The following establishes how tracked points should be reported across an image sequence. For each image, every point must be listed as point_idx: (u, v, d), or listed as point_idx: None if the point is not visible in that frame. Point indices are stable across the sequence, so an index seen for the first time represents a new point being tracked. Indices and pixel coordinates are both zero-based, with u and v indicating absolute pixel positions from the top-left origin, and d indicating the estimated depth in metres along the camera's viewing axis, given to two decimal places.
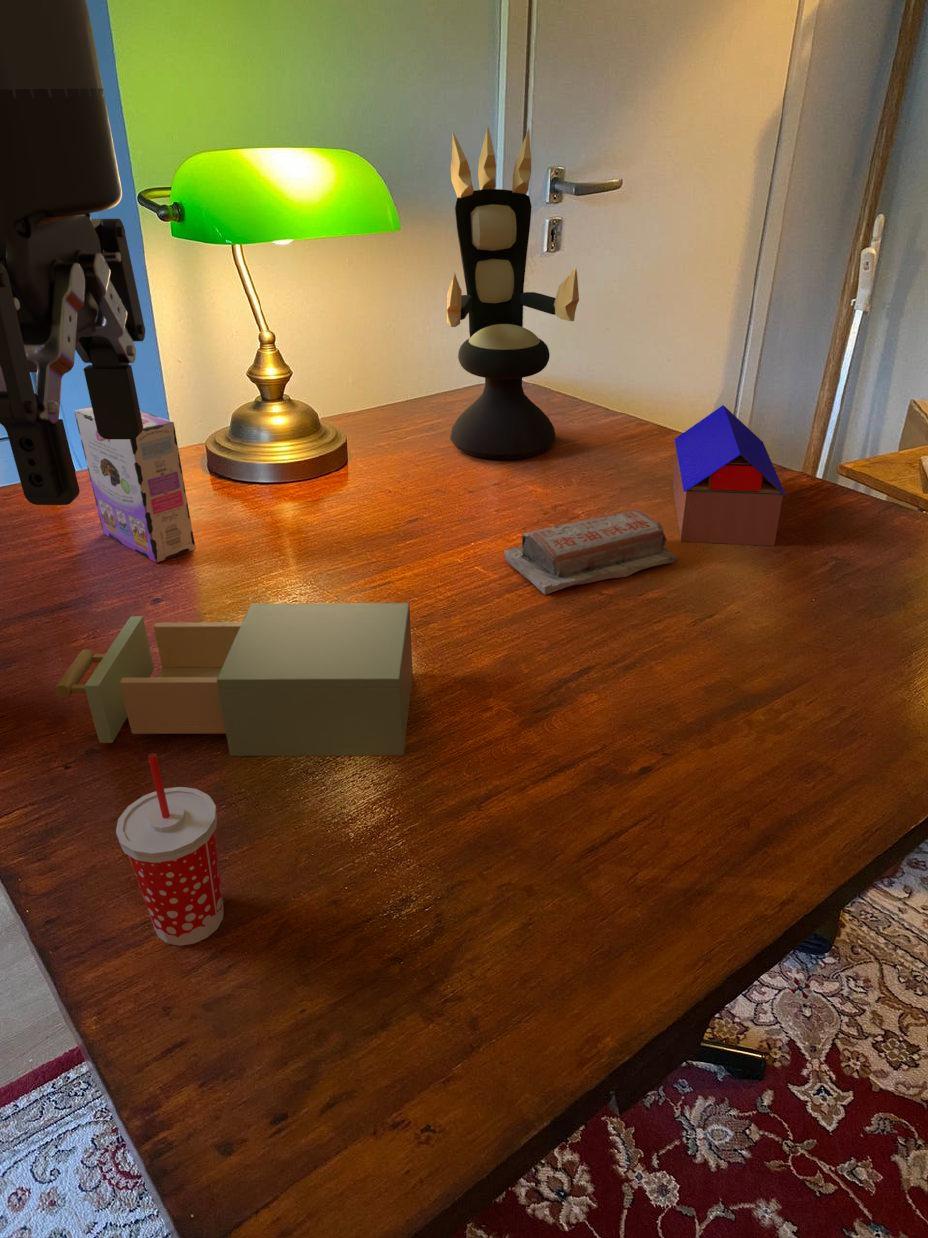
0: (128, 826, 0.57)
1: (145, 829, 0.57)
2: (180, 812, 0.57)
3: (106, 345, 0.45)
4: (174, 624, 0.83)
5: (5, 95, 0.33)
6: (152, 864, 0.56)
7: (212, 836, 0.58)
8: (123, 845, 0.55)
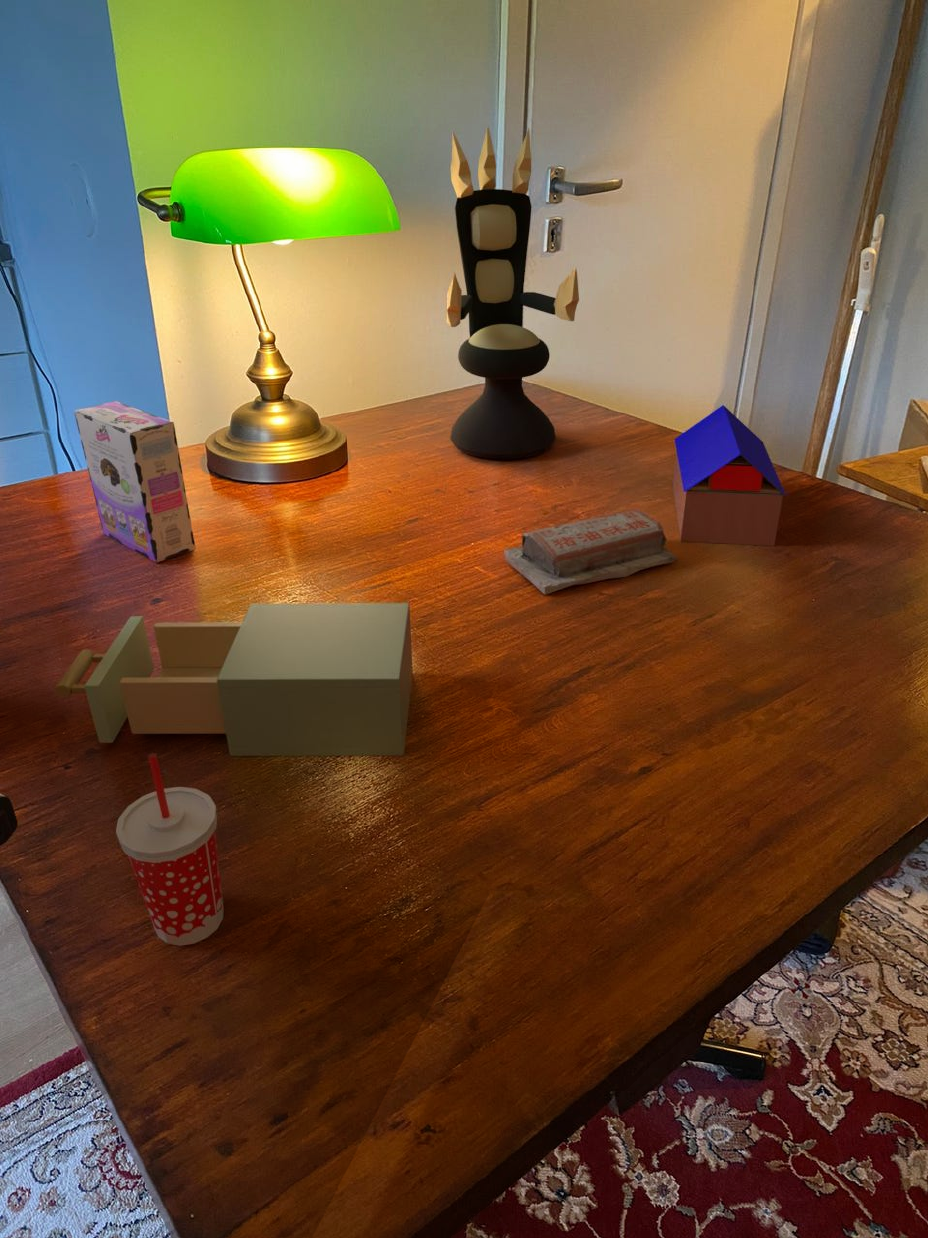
0: (128, 826, 0.57)
1: (145, 829, 0.57)
2: (180, 812, 0.57)
3: None
4: (174, 624, 0.83)
5: None
6: (152, 864, 0.56)
7: (212, 836, 0.58)
8: (123, 845, 0.55)
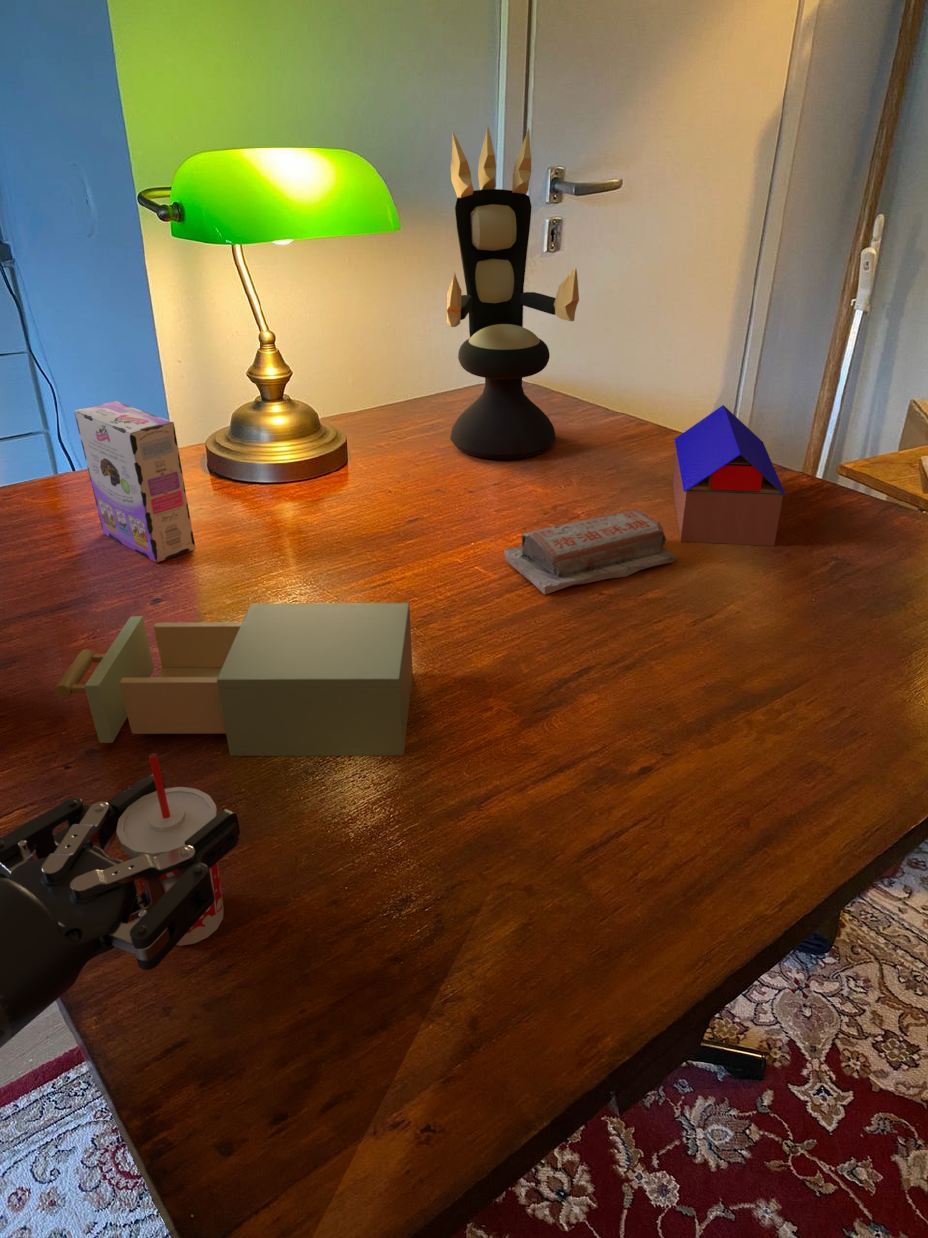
0: (128, 826, 0.57)
1: (145, 829, 0.57)
2: (181, 812, 0.57)
3: (178, 872, 0.54)
4: (174, 624, 0.83)
5: None
6: None
7: None
8: (123, 845, 0.55)
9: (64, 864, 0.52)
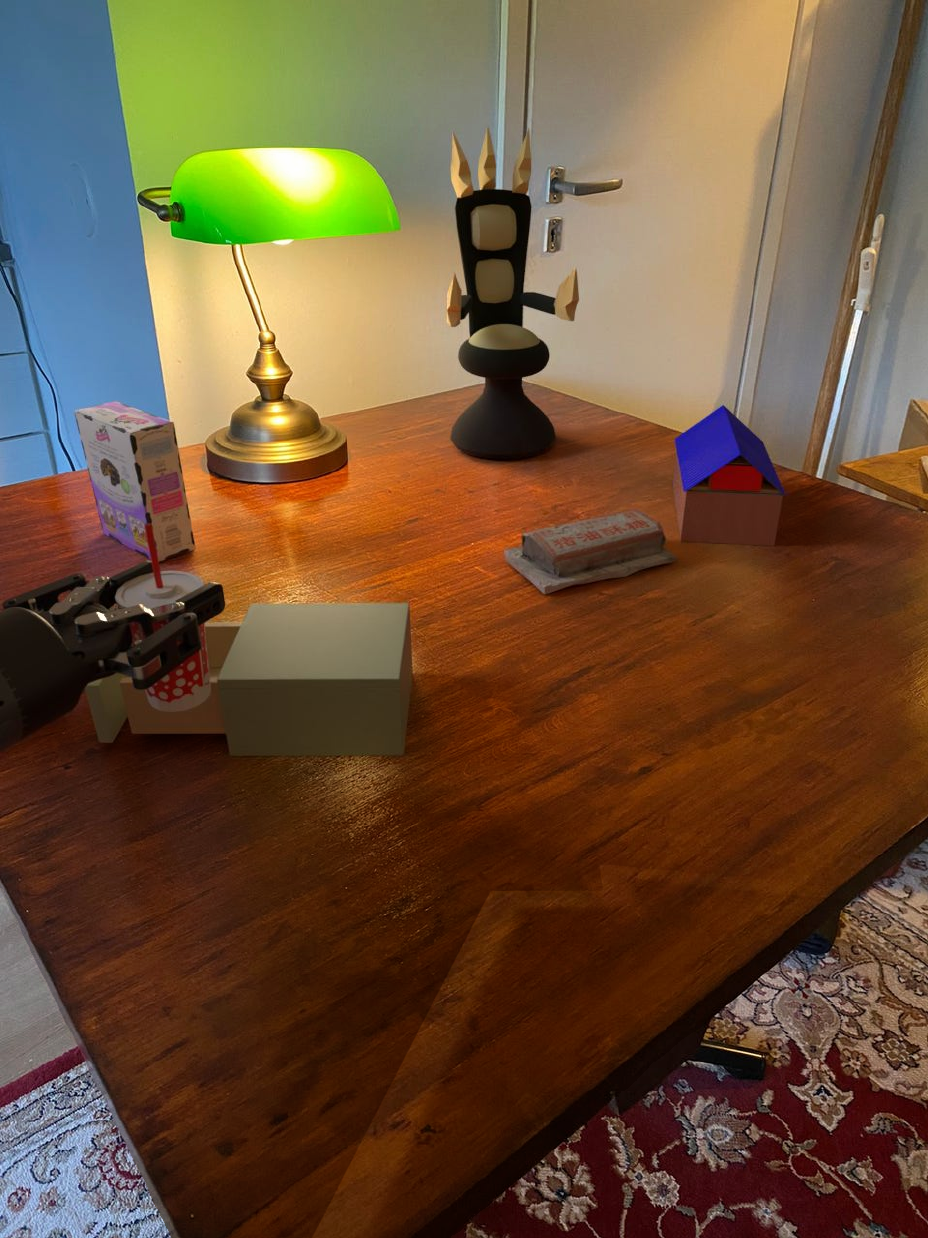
0: (126, 594, 0.64)
1: (141, 596, 0.64)
2: (172, 584, 0.64)
3: None
4: None
5: None
6: None
7: None
8: (121, 606, 0.62)
9: (69, 609, 0.59)
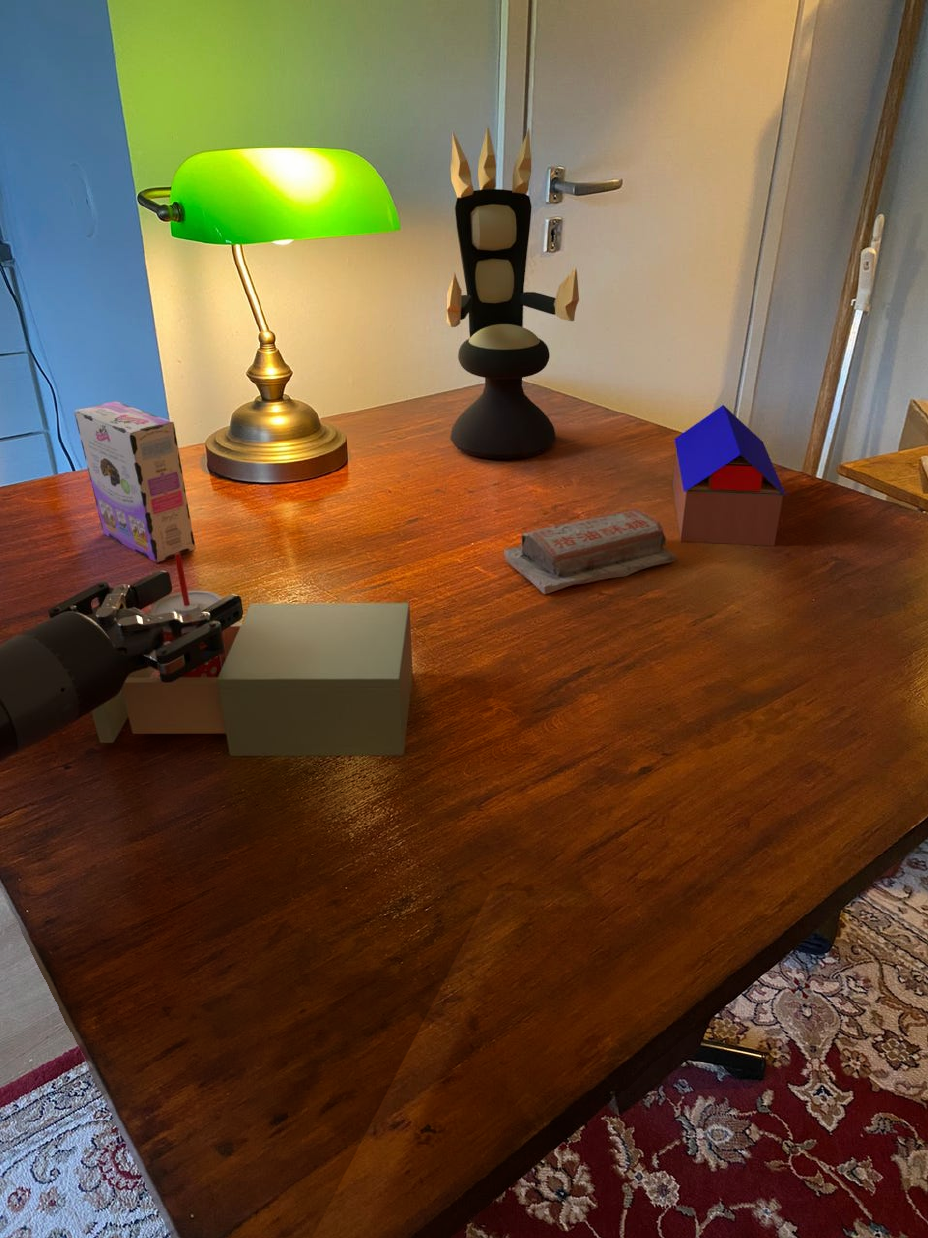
0: (159, 611, 0.77)
1: None
2: (197, 602, 0.77)
3: None
4: None
5: None
6: None
7: None
8: None
9: (112, 611, 0.72)
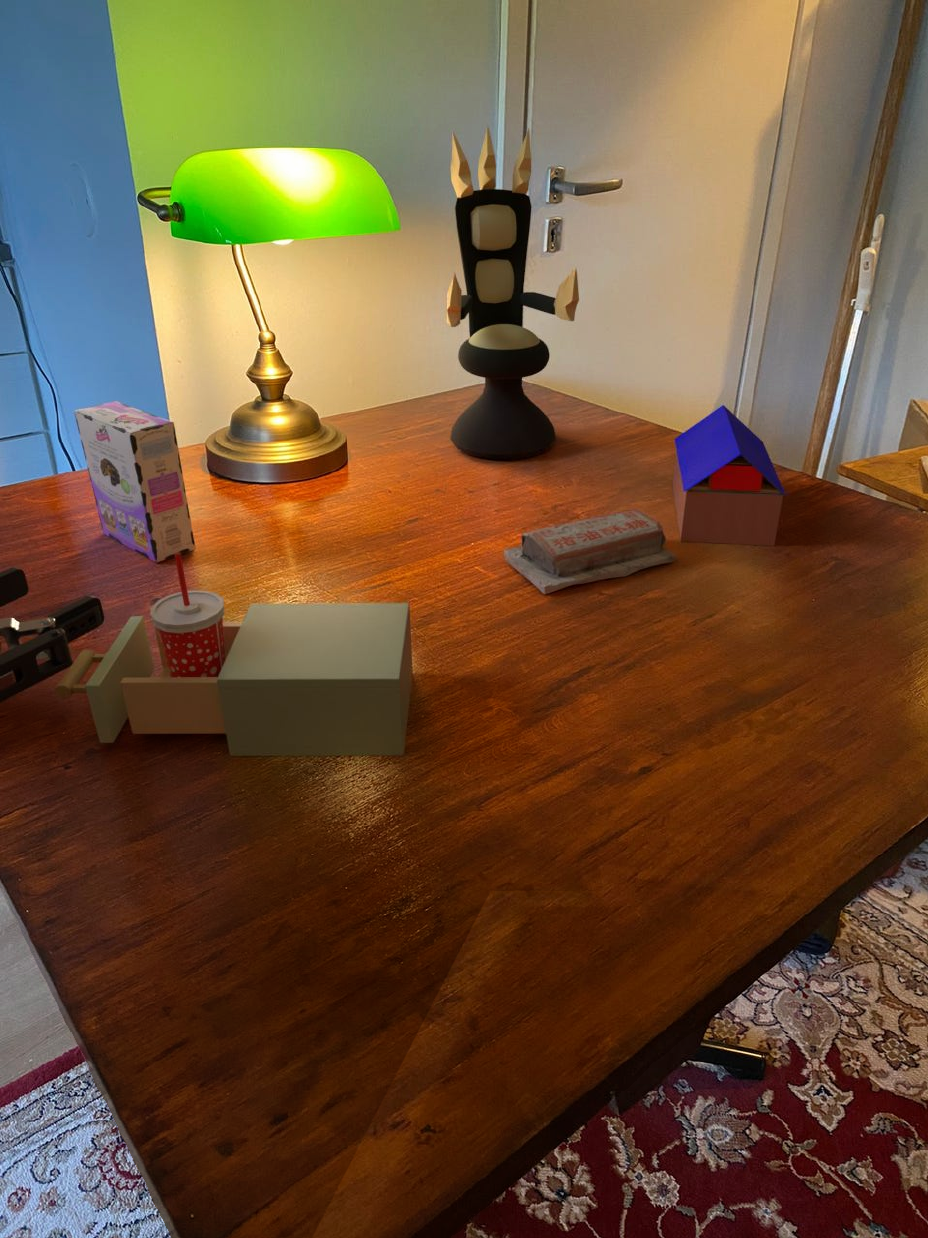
0: (159, 611, 0.77)
1: (171, 613, 0.76)
2: (197, 602, 0.77)
3: None
4: None
5: None
6: (177, 635, 0.75)
7: (221, 621, 0.78)
8: (155, 621, 0.75)
9: None
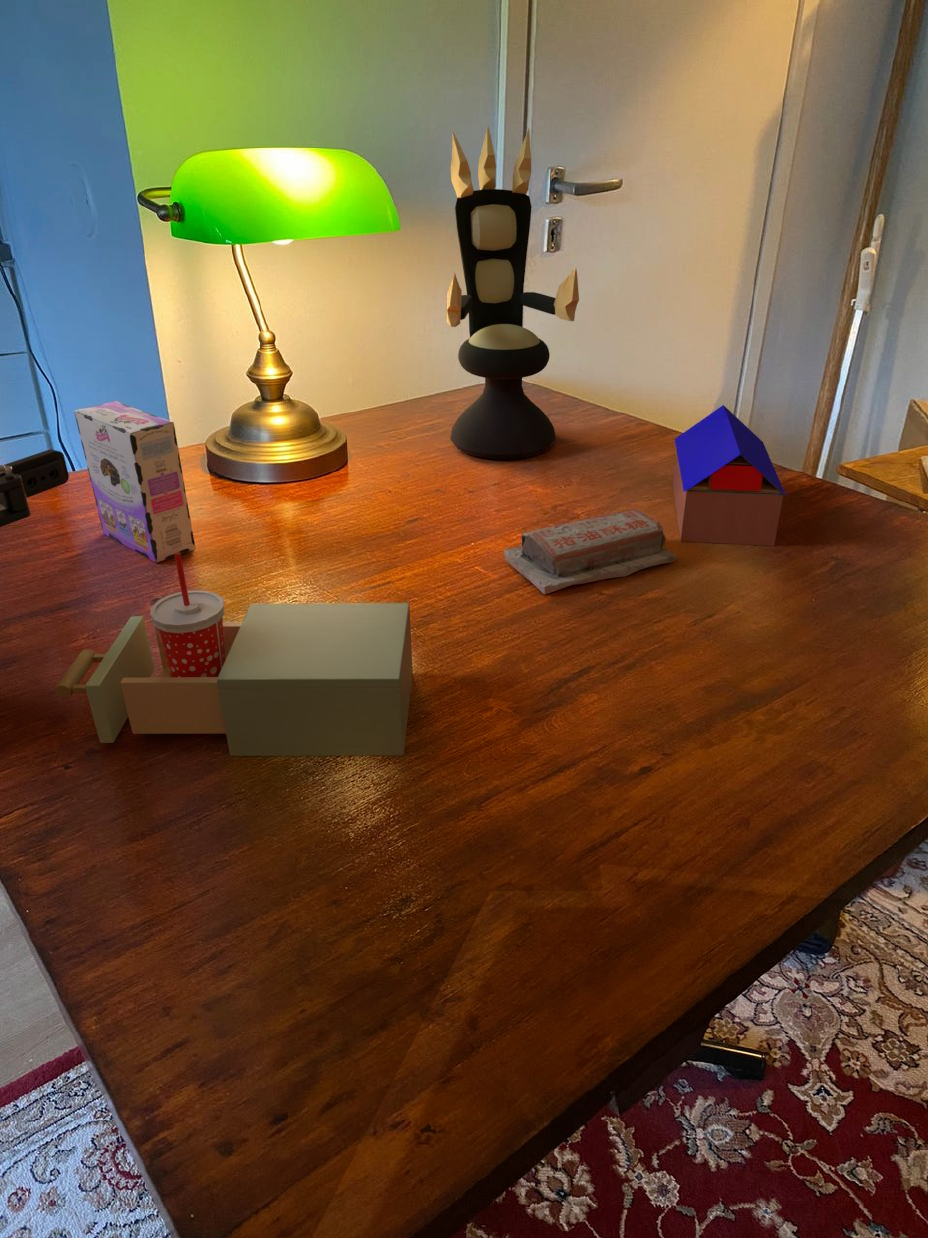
0: (159, 611, 0.77)
1: (171, 613, 0.76)
2: (197, 602, 0.77)
3: None
4: None
5: None
6: (177, 635, 0.75)
7: (221, 621, 0.78)
8: (155, 621, 0.75)
9: None
